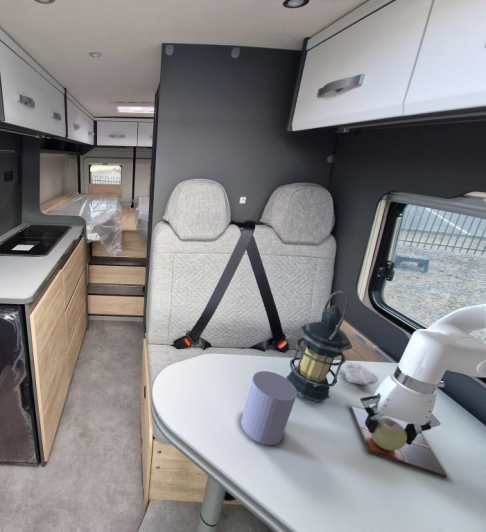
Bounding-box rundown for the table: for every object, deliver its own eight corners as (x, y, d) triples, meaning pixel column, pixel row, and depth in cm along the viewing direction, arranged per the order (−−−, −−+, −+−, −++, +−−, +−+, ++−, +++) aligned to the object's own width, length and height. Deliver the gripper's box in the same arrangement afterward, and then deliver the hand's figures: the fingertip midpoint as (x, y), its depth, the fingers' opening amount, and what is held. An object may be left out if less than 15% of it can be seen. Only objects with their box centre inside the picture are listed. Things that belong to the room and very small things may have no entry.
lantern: (280, 371, 106) (309, 279, 94) (323, 383, 103) (359, 288, 90) (285, 400, 94) (320, 297, 81) (334, 414, 90) (378, 309, 78)
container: (238, 435, 80) (251, 389, 75) (243, 408, 89) (254, 366, 84) (281, 453, 76) (297, 406, 71) (281, 423, 85) (296, 380, 80)
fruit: (406, 460, 76) (419, 437, 73) (372, 450, 78) (383, 427, 75) (392, 435, 83) (403, 413, 80) (361, 427, 85) (371, 405, 82)
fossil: (354, 383, 99) (342, 355, 107) (346, 392, 104) (334, 365, 111) (383, 385, 98) (369, 357, 106) (373, 394, 103) (360, 366, 110)
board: (414, 427, 88) (415, 424, 87) (445, 478, 74) (447, 475, 73) (350, 408, 93) (351, 405, 92) (368, 453, 78) (369, 450, 78)
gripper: (451, 380, 74) (421, 434, 80) (367, 359, 79) (344, 412, 85) (471, 402, 67) (436, 459, 73) (377, 378, 72) (352, 433, 79)
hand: (387, 433), depth 79 cm, fingers closed on fruit, 7 cm apart
